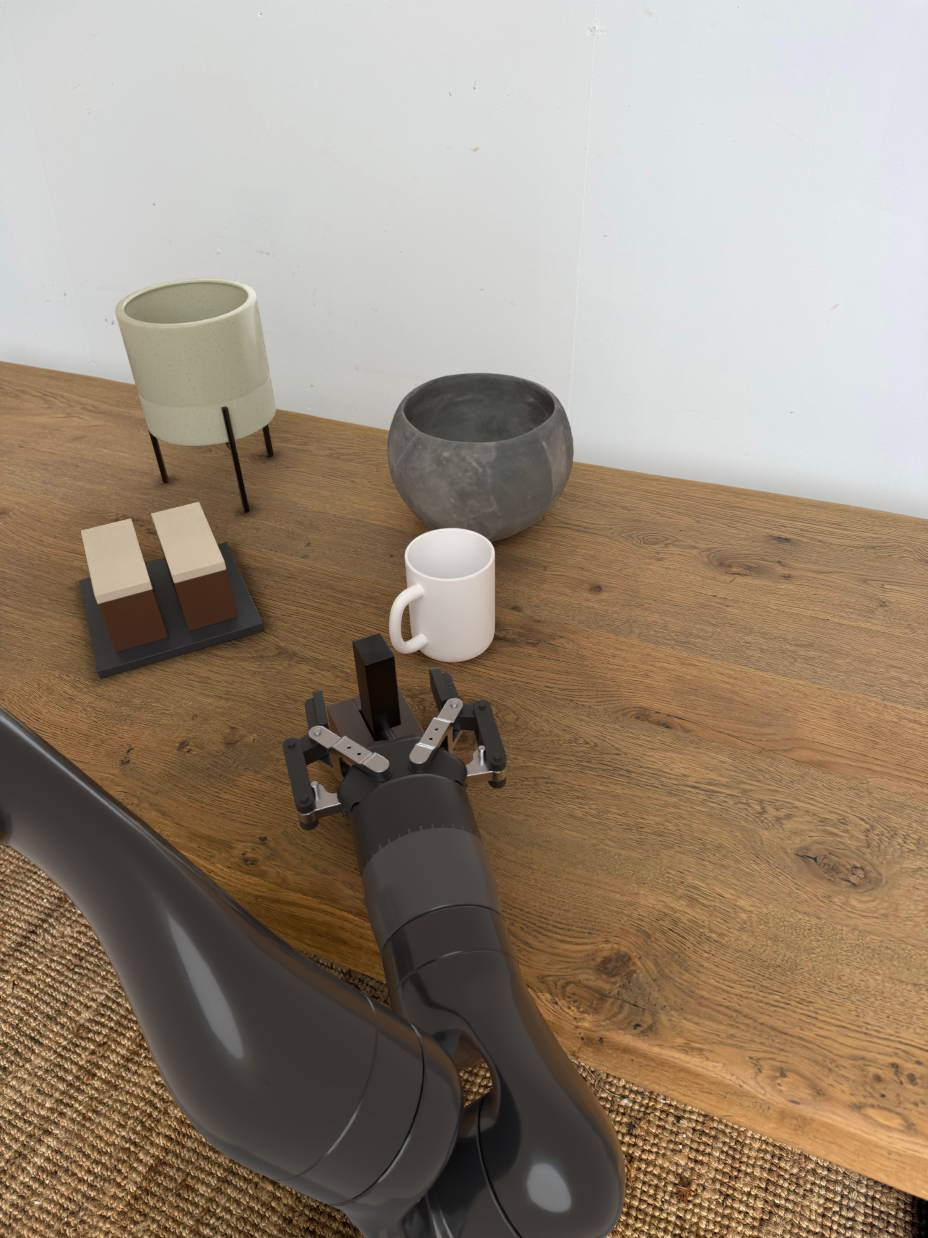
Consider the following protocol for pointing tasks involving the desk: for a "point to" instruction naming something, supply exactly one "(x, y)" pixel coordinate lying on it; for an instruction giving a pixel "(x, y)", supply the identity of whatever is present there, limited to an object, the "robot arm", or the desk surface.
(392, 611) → the cup
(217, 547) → the cake
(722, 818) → the desk surface
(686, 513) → the desk surface
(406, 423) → the bowl
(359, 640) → the knife
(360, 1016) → the robot arm
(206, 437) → the planter
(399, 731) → the knife block
